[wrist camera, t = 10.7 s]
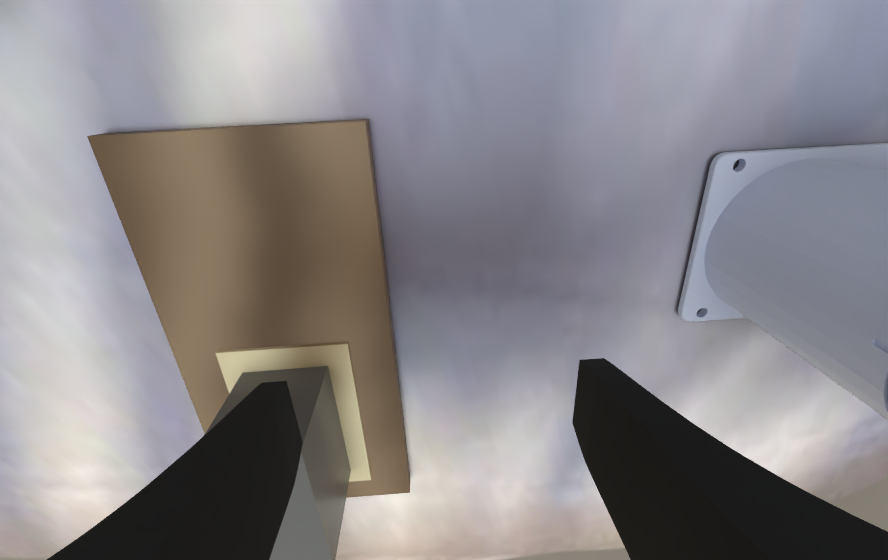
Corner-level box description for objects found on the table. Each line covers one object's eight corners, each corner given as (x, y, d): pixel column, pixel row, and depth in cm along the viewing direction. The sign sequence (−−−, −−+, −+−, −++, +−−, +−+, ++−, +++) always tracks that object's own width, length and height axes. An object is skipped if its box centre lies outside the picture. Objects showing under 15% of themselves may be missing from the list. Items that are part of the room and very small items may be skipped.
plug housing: (327, 365, 20) (300, 450, 15) (350, 470, 23) (333, 567, 18) (242, 372, 20) (189, 459, 15) (276, 476, 23) (241, 575, 18)
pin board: (368, 118, 16) (357, 127, 13) (410, 477, 25) (409, 529, 22) (106, 133, 16) (37, 144, 13) (240, 490, 25) (216, 545, 22)
